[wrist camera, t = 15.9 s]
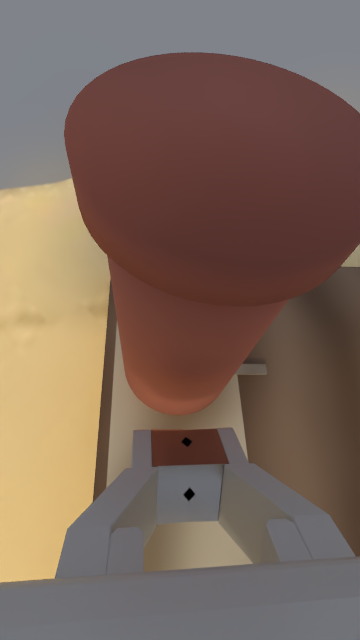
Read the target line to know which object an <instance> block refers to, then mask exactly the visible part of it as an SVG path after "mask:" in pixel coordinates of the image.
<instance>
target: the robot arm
mask: <svg viewBox="0 0 360 640" xmlns="http://www.w3.org/2000/svg"><path fill="white" fill-rule="evenodd" d="M205 521H218V523H219V524H220V525H221V526H222V528H223V529H224V530H225V531H226V532H227V533H228V535H229V536H230V537H231V538H232V539H233V541H234V542H235V543H236V544H237V545H238V546H239V548H240V549H241V550H242V551H243V552H244V553H245V555H246V556H247V557H248V558H249V559H250V560H251V562H252V563H253V564H245V565H232V566H218V567H205V568H191V569H178V570H165V571H151V572H143V550H144V548H145V546H146V544H147V542H148V541H149V539H150V537H151V535H152V533H153V531H154V530H155V528H156V525H158V524H170V523H181V522H205ZM0 640H360V556H357V557H356V556H355V554H354V553H353V551H352V549H351V548H350V546H349V545H348V543H347V542H346V540H345V539H344V537H343V535H342V534H341V532H340V531H339V529H338V528H337V526H336V524H335V523H334V521H333V520H332V518H331V517H330V515H329V514H327V513H326V512H325V511H323V510H322V509H320V508H319V507H317V506H316V505H314V504H313V503H311V502H310V501H308V500H307V499H305V498H304V497H303V496H301V495H300V494H298V493H297V492H295V491H294V490H292V489H291V488H289V487H288V486H286V485H285V484H283V483H282V482H281V481H279V480H278V479H276V478H275V477H273V476H272V475H270V474H269V473H267V472H266V471H264V470H263V469H262V468H260V467H259V466H257V465H256V464H254V463H249V462H248V460H247V458H246V455H245V453H244V451H243V449H242V446H241V444H240V442H239V440H238V438H237V435H236V433H235V431H234V429H233V428H232V427H228V428H215V429H191V430H184V429H151V431H150V429H144V430H134V431H133V440H132V459H131V468H125V469H124V470H123V472H122V473H121V474H120V475H119V476H118V477H117V478H116V479H115V480H114V481H113V482H112V483H111V484H110V485H109V486H108V487H107V488H106V489H105V490H104V491H103V492H102V493H101V494H100V496H99V497H98V498H97V499H96V500H95V501H94V502H93V503H92V504H91V505H90V506H89V507H88V508H87V509H86V510H85V511H84V512H83V513H82V514H81V515H80V516H79V517H78V518H77V520H76V521H75V522H74V523H73V524H72V525H71V526H70V527H69V528H68V529H67V533H66V537H65V540H64V544H63V548H62V552H61V556H60V560H59V564H58V568H57V572H56V575H55V579H42V580H29V581H15V582H2V583H0Z"/></svg>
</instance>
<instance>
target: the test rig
mask: <svg viewBox="0 0 360 640" xmlns="http://www.w3.org/2000/svg"><path fill="white" fill-rule="evenodd" d="M228 427H232V428H233V429H234V431H235V433H236V435H237V438H238V440H239V442H240V444H241V446H242V449H243V451H244V453H245V455H246V458H247V460H248V462H249V463H254V464H256V465H257V466H259V467H260V468H262V469H263V470H264V471H266V472H267V473H269V474H270V475H272V476H273V477H275V478H276V479H278V480H279V481H281V482H282V483H283V484H285V485H286V486H288V487H289V488H291V489H292V490H294V491H295V492H297V493H298V494H300V495H301V496H303V497H304V498H305V499H307V500H308V501H310V502H311V503H313V504H314V505H316V506H317V507H319V508H320V509H322V510H323V511H325V512H326V513H327V514H329V515H330V517H331V518H332V520H333V521H334V523H335V524H336V526H337V528H338V529H339V531H340V532H341V534H342V535H343V537H344V539H345V540H346V542H347V543H348V545H349V546H350V548H351V549H352V551H353V553H354V554H355V556H356V557H357V556H360V267H339V268H338V270H337V271H336V272H334V273H333V274H332V275H331V276H330V277H329V278H328V279H327V280H326V281H324V282H323V283H321V284H320V285H318V286H317V287H315V288H314V289H312V290H310V291H308V292H306V293H304V294H302V295H299V296H297V297H294V298H291V299H289V300H288V302H287V303H286V304H285V306H284V307H283V308H282V310H281V311H280V313H279V314H278V315H277V317H276V318H275V319H274V321H273V322H272V324H271V325H270V326H269V328H268V329H267V330H266V332H265V333H264V334H263V336H262V337H261V339H260V340H259V341H258V343H257V344H256V345H255V347H254V348H253V350H252V351H251V352H250V354H249V355H248V356H247V358H246V359H245V360H244V362H243V363H242V365H241V366H240V367H239V369H238V370H237V371H236V373H235V374H234V376H233V377H232V378H231V380H230V381H229V382H228V384H227V385H226V386H225V388H224V389H223V391H222V392H221V393H220V395H219V396H218V397H217V398H216V399H215V400H214V401H213V402H212V403H211V404H210V405H208V406H207V407H206V408H204V409H202V410H200V411H197V412H195V413H191V414H187V415H169V414H164V413H161V412H158V411H156V410H154V409H152V408H150V407H148V406H147V405H145V404H144V403H143V402H142V401H140V400H139V399H138V398H137V396H136V395H135V394H134V393H133V391H132V390H131V388H130V386H129V384H128V382H127V379H126V376H125V370H124V363H123V356H122V350H121V343H120V336H119V330H118V323H117V316H116V310H115V303H114V296H113V289H112V283H111V280H110V293H109V306H108V318H107V331H106V343H105V356H104V369H103V381H102V394H101V407H100V419H99V432H98V444H97V457H96V470H95V482H94V495H93V502H94V501H95V500H96V499H97V498H98V497H99V496H100V494H101V493H102V492H103V491H104V490H105V489H106V488H107V487H108V486H109V485H110V484H111V483H112V482H113V481H114V480H115V479H116V478H117V477H118V476H119V475H120V474H121V473H122V472H123V470H124V469H125V468H131V459H132V440H133V431H134V430H144V429H150V431H151V429H184V430H191V429H215V428H228ZM245 564H253V563H252V562H251V560H250V559H249V558H248V557H247V556H246V555H245V553H244V552H243V551H242V550H241V549H240V548H239V546H238V545H237V544H236V543H235V542H234V541H233V539H232V538H231V537H230V536H229V535H228V533H227V532H226V531H225V530H224V529H223V528H222V526H221V525H220V524H219V523H218V521H205V522H181V523H170V524H158V525H156V528H155V530H154V531H153V533H152V535H151V537H150V539H149V541H148V542H147V544H146V546H145V548H144V550H143V572H151V571H165V570H178V569H191V568H205V567H218V566H232V565H245Z"/></svg>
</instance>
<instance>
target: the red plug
mask: <svg viewBox="0 0 360 640" xmlns="http://www.w3.org/2000/svg"><path fill="white" fill-rule="evenodd" d="M64 137H65V146H66V151H67V156H68V160H69V164H70V169H71V174H72V178H73V183H74V187H75V192H76V196H77V201H78V205H79V209H80V212H81V215H82V218H83V221H84V223H85V225H86V227H87V229H88V231H89V233H90V234H91V236H92V237H93V239H94V240H95V241H96V243H97V244H98V245H99V247H100V248H101V249H102V250H103V251H104V252H105V253H106V254H107V256H108V263H109V269H110V276H111V283H112V289H113V296H114V303H115V310H116V316H117V323H118V330H119V336H120V343H121V350H122V356H123V363H124V370H125V376H126V379H127V382H128V384H129V386H130V388H131V390H132V391H133V393H134V394H135V395H136V396H137V398H138V399H139V400H140V401H142V402H143V403H144V404H145V405H147V406H148V407H150V408H152V409H154V410H156V411H158V412H161V413H164V414H169V415H187V414H191V413H195V412H197V411H200V410H202V409H204V408H206V407H207V406H208V405H210V404H211V403H212V402H213V401H214V400H215V399H216V398H217V397H218V396H219V395H220V393H221V392H222V391H223V389H224V388H225V386H226V385H227V384H228V382H229V381H230V380H231V378H232V377H233V376H234V374H235V373H236V371H237V370H238V369H239V367H240V366H241V365H242V363H243V362H244V360H245V359H246V358H247V356H248V355H249V354H250V352H251V351H252V350H253V348H254V347H255V345H256V344H257V343H258V341H259V340H260V339H261V337H262V336H263V334H264V333H265V332H266V330H267V329H268V328H269V326H270V325H271V324H272V322H273V321H274V319H275V318H276V317H277V315H278V314H279V313H280V311H281V310H282V308H283V307H284V306H285V304H286V303H287V302H288V300H289V299H291V298H294V297H297V296H299V295H302V294H304V293H306V292H308V291H310V290H312V289H314V288H315V287H317V286H318V285H320V284H321V283H323V282H324V281H326V280H327V279H328V278H329V277H330V276H331V275H332V274H333V273H334V272H336V271H337V270H338V268H339V267H340V266H341V265H342V264H343V263H344V261H345V260H346V259H347V258H348V257H349V255H350V254H351V253H352V252H353V251H354V250H355V248H356V247H357V246H358V245H359V244H360V114H359V112H358V111H357V110H355V109H354V108H353V107H352V106H351V105H349V104H348V103H347V102H346V101H344V100H343V99H342V98H340V97H339V96H337V95H335V94H334V93H333V92H331V91H330V90H328V89H326V88H324V87H323V86H320V85H319V84H317V83H315V82H313V81H311V80H309V79H307V78H305V77H302V76H301V75H299V74H296V73H293V72H291V71H288V70H286V69H283V68H280V67H277V66H274V65H271V64H268V63H264V62H260V61H256V60H252V59H248V58H243V57H237V56H231V55H223V54H214V53H170V54H162V55H155V56H150V57H145V58H141V59H136V60H133V61H130V62H127V63H124V64H121V65H119V66H117V67H115V68H113V69H110V70H108V71H106V72H105V73H103V74H101V75H100V76H98V77H96V78H95V79H94V80H93V81H92V82H90V83H89V84H88V85H87V86H85V88H84V89H83V90H82V91H81V92H80V93H79V94H78V95H77V96H76V98H75V100H74V102H73V103H72V105H71V106H70V109H69V112H68V115H67V117H66V121H65V130H64Z"/></svg>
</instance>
